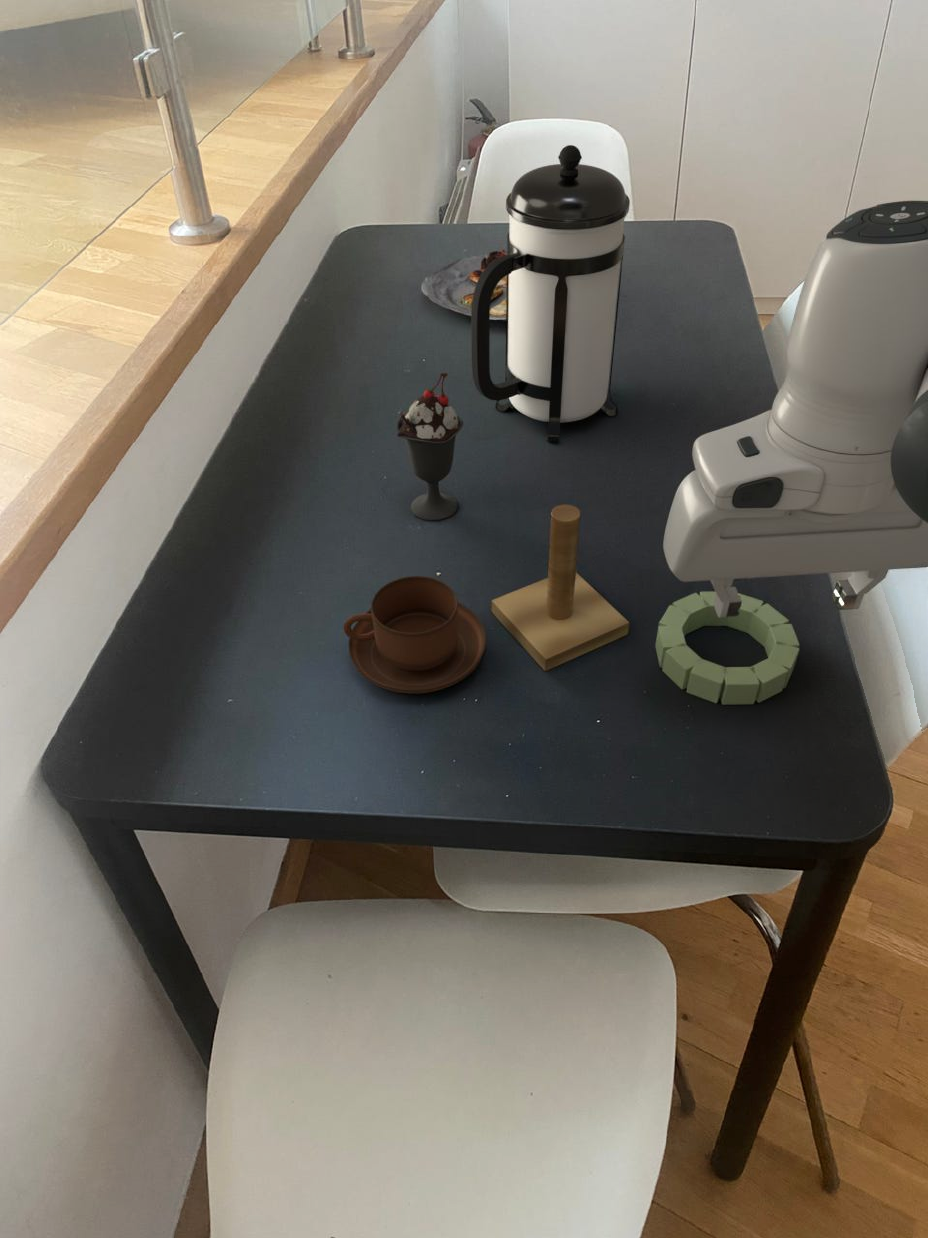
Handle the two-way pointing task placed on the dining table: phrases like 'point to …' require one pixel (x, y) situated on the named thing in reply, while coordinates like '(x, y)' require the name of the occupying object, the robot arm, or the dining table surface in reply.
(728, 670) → the ring
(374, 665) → the cup and saucer
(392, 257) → the dining table surface
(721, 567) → the robot arm
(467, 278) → the food plate
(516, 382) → the coffee press
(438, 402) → the sundae
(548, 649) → the hanger post
